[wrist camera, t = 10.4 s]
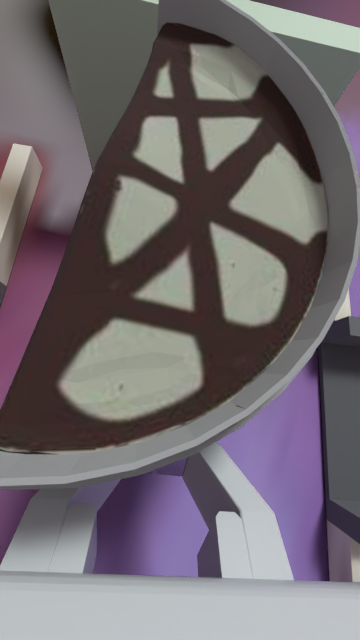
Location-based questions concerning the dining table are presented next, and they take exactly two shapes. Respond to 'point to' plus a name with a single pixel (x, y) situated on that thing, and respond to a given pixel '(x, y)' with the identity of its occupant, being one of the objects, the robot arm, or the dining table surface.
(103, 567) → the dining table surface
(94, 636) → the robot arm
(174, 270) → the food container
